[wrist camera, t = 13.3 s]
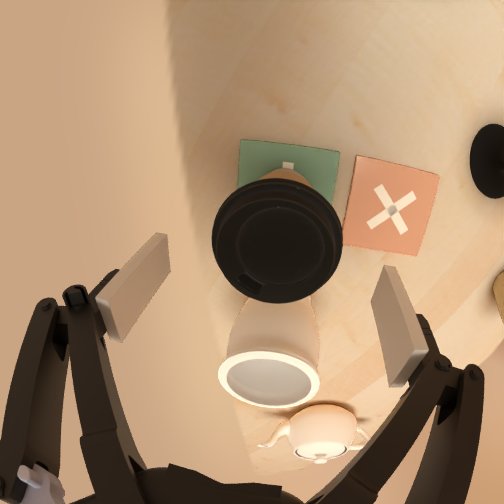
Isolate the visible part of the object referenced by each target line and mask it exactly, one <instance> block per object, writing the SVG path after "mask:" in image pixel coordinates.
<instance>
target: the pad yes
mask: <svg viewBox="0 0 504 504" xmlns="http://www.w3.org/2000/svg"><path fill="white" fill-rule="evenodd" d="M339 156H340V152H338V151H332V150H326V149H319V148H313V147H306V146H299V145H291V144H283V143H274V142H265V141H254V140H240V156H239V172H238V188H237V189H239V188H241V187H242V186H244V185H246V184H248V183H251V182H254V181H257V180H259V179H260V178H261V177H263V176H265V175H266V174H268V173H270V172H272V171H274V170H275V169H279V168H289V169H292V170H295V171H297V172H298V173H300V174H301V175H302V176H304V177H305V179H306V180H307V181H308V183H309V184H310V185H311V186H312V187H313V188H314V190H316V191H317V192H319V193H320V194H321V195H322V196H323V197H324V198H325V199H326V200H327V201H328V202H329V203H330V204H331V205H332V199H333V193H334V188H335V182H336V175H337V169H338V163H339Z"/></svg>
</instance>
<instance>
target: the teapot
mask: <svg viewBox="0 0 504 504" xmlns="http://www.w3.org/2000/svg"><path fill="white" fill-rule="evenodd" d="M356 432H358V433H359V434H360V435H361V436H362V437H363V438H364V440H365V442H366V443H367V442H368V441H369V440H370V439H371V438H370V436H369V434H368V433H367V432H366V431H364V430H363V429H361V428H360V427H358V426H357V421H356V418H355V416H354V415H353V414H352V413H351V412H349V411H348V410H346V409H344V408H342V407H340V406H336V405H327V404H323V405H314V406H310V407H307V408H305V409H303V410H301V411H300V412H298V413H296V414H295V415H294V416H293V417H291V419H290V420H289V421H285V422H283V423H280V424H279V425H278V426H277V427H276V429H275V430H274V432H273V434H272V436H271V437H270V439H269V440H268V441H267V442H265V443H262V444H259V445H257V446H259V447H271V446H272V445H274V444H275V442H276V441H277V439H278V438H279V436H281V435H285V434H287V438H288V441H289V444H290V446H291V448H292V451H293V453H294V454H295V455H296V456H298V457H300V458H302V459H307V460H314V463H317V464H322V463H326V462H327V460H328V459H333V458H337V457H340V456H342V455H344V454H345V453H346V452H347V451H348V450H358V449H362V448H363V447H364V446H365V445H366V444H364V445H351V444H352V442H353V440H354V437H355V434H356Z"/></svg>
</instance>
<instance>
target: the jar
mask: <svg viewBox="0 0 504 504" xmlns="http://www.w3.org/2000/svg"><path fill="white" fill-rule="evenodd" d="M319 356H320V336H319V330H318V326H317V323H316V319H315V315H314V311H313V309H312V306H311V296H310V295H309V296H308V297H306V298H303V299H301V300H298V301H295V302H291V303H284V304H273V303H265V302H261V301H258V300H255V299H252V298H250V297H249V299H248V300H247V301H246V303H245V304H244V306H243V308H242V310H241V312H240V313H239V315H238V316H237V318H236V320H235V322H234V324H233V327H232V329H231V333H230V336H229V341H228V347H227V356H226V357H225V359H224V360H223V361H222V363H221V366H220V368H219V372H218V377H219V380H220V382H221V384H222V386H223V387H224V388H225V389H226V390H227V391H228V392H229V393H230V394H231V395H233V396H234V397H236V398H238V399H239V400H242V401H244V402H246V403H249V404H252V405H256V406H260V407H267V408H286V407H292V406H296V405H299V404H302V403H304V402H306V401H308V400H310V399H311V398H312V397H313V396H314V395H315V394H316V393H317V391H318V389H319V386H320V375H319V372H318V369H317V367H318V362H319Z"/></svg>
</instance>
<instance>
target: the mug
mask: <svg viewBox="0 0 504 504" xmlns="http://www.w3.org/2000/svg"><path fill="white" fill-rule="evenodd" d="M493 291H494V295H495V298H496V302H497V305H498V309H499V313H500V316H501V319H502V321H503V323H504V271H503V272H502V273H500V274H499V276H498V277H497V278H496V280H495V282H494V285H493Z"/></svg>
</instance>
